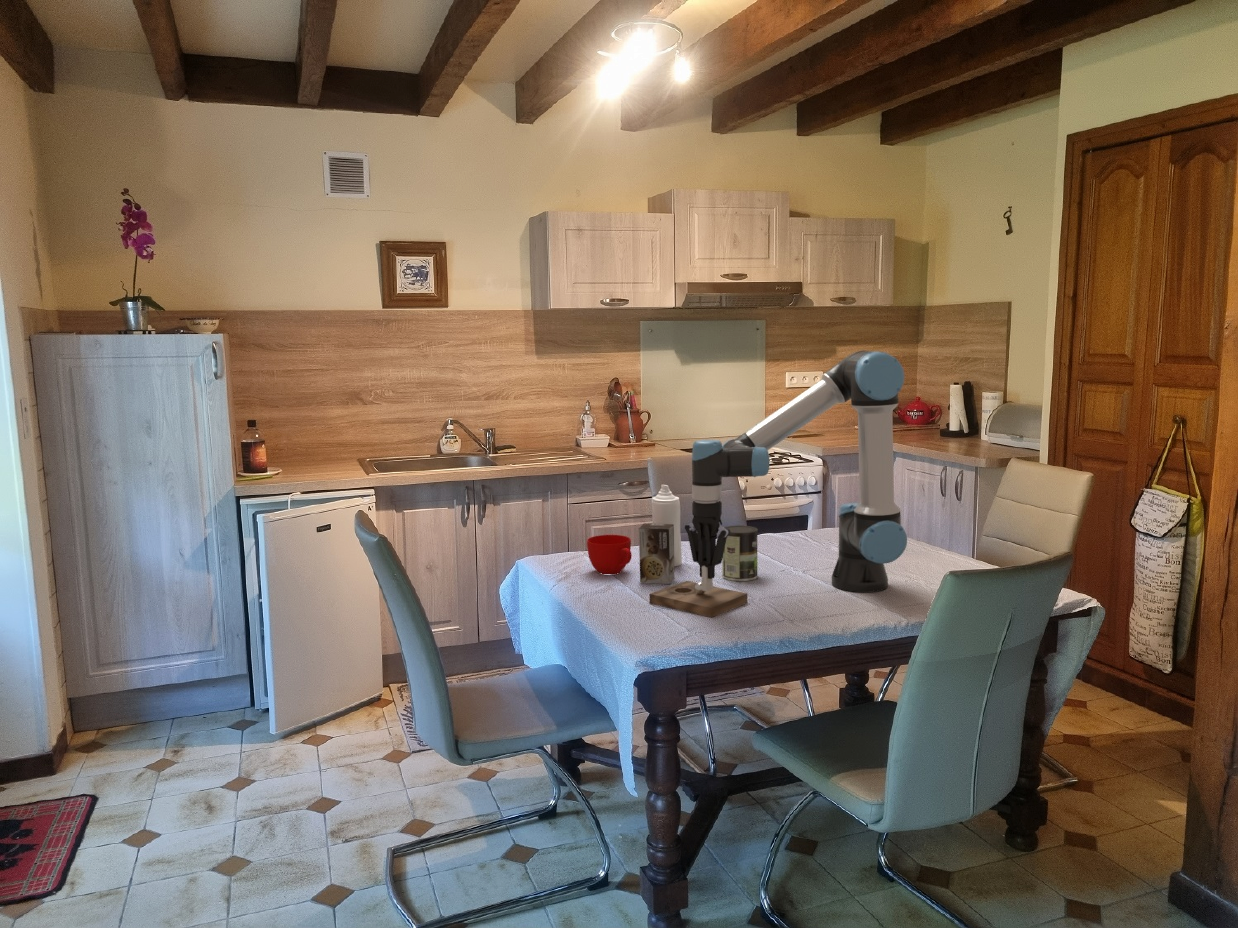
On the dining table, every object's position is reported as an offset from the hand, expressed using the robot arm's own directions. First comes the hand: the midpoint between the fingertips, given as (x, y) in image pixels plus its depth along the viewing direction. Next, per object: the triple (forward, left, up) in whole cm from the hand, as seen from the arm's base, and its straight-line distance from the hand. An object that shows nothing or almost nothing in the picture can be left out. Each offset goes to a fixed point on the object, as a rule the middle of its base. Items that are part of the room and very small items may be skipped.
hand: (707, 589), depth 244 cm
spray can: (+34, -26, -4) cm, 43 cm away
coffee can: (+9, -28, -4) cm, 30 cm away
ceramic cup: (+40, -8, -4) cm, 41 cm away
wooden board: (+3, 0, -4) cm, 5 cm away
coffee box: (+25, -10, -4) cm, 27 cm away
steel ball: (+2, 0, 0) cm, 2 cm away
